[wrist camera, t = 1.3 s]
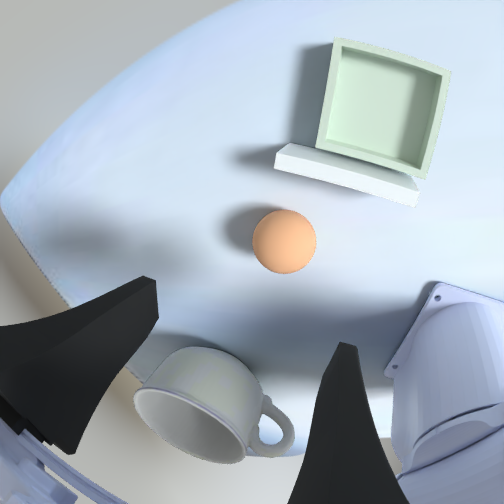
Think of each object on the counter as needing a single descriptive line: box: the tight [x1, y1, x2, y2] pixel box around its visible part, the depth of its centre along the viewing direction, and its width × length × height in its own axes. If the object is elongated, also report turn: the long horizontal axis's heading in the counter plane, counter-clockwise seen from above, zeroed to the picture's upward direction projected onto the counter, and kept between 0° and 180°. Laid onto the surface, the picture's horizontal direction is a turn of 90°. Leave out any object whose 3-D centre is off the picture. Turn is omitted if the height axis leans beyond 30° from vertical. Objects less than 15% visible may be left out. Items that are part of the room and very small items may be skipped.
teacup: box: [133, 347, 295, 464], centre depth 25 cm, size 14×11×8 cm
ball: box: [252, 210, 316, 274], centre depth 18 cm, size 4×4×4 cm
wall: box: [274, 143, 420, 208], centre depth 15 cm, size 1×7×3 cm, turn 83°
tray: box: [315, 37, 451, 180], centre depth 13 cm, size 6×6×2 cm
